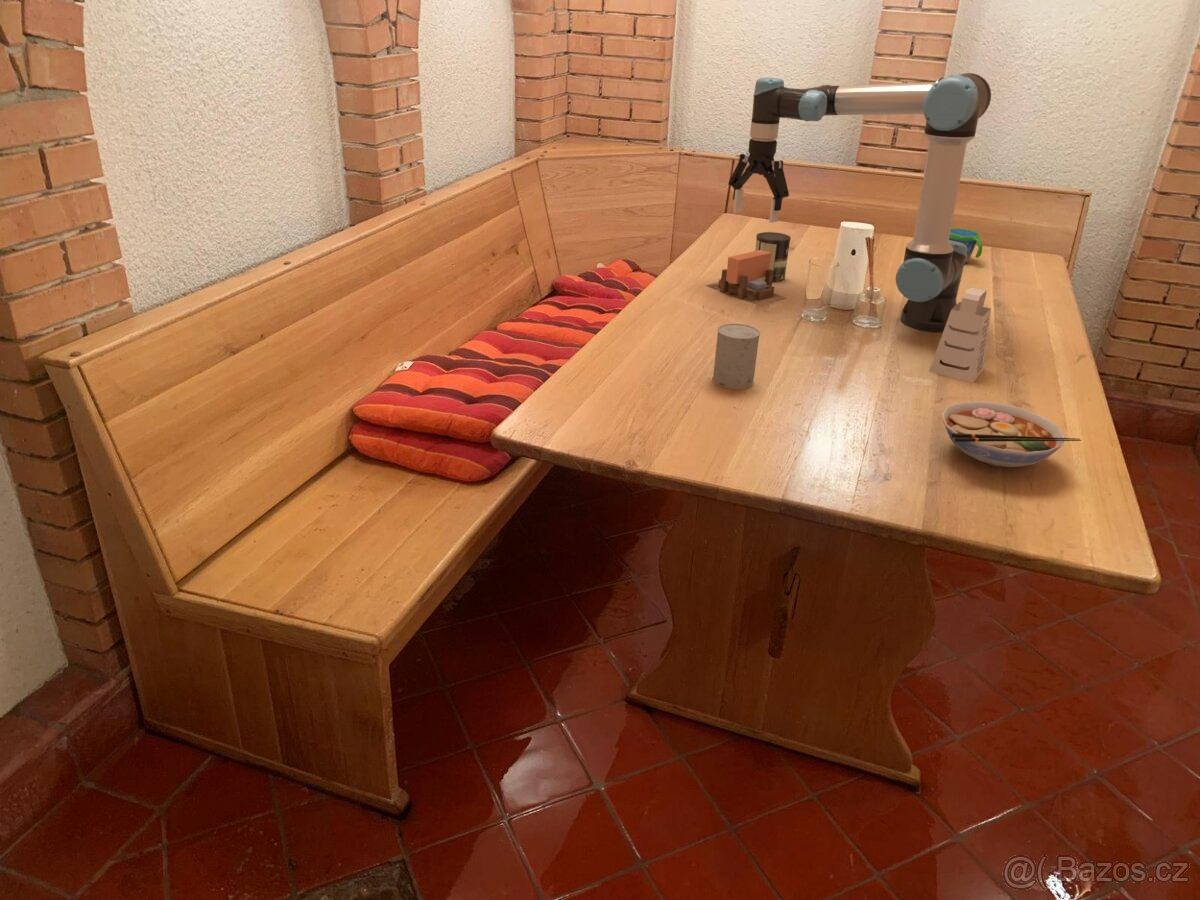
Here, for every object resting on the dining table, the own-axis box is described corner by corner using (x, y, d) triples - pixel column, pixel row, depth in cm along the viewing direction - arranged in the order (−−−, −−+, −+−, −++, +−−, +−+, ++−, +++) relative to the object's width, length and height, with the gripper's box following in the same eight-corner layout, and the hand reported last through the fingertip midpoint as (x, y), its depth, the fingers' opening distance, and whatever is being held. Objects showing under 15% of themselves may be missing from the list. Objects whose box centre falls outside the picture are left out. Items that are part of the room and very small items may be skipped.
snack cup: (985, 266, 307) (993, 236, 302) (963, 269, 302) (970, 239, 298) (950, 254, 319) (956, 225, 314) (928, 257, 314) (934, 228, 310)
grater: (983, 369, 224) (1003, 290, 215) (972, 382, 216) (993, 301, 207) (941, 358, 229) (958, 281, 220) (928, 371, 221) (946, 292, 212)
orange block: (768, 276, 269) (771, 253, 266) (736, 284, 261) (738, 260, 257) (757, 272, 271) (760, 249, 268) (725, 280, 263) (728, 256, 260)
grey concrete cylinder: (721, 390, 206) (727, 339, 200) (706, 374, 214) (711, 324, 209) (760, 387, 209) (767, 337, 203) (743, 371, 217) (749, 322, 211)
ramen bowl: (1028, 433, 193) (1038, 398, 189) (1082, 487, 172) (1095, 449, 169) (912, 431, 191) (920, 395, 188) (953, 485, 171) (963, 447, 167)
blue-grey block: (765, 295, 265) (767, 282, 263) (756, 298, 263) (757, 284, 261) (735, 285, 273) (736, 272, 271) (725, 287, 271) (727, 274, 269)
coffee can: (781, 276, 287) (787, 232, 280) (787, 286, 278) (793, 241, 271) (749, 275, 287) (754, 231, 280) (753, 285, 278) (758, 239, 271)
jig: (787, 301, 265) (791, 276, 261) (758, 309, 257) (761, 283, 254) (732, 282, 280) (735, 257, 276) (703, 289, 272) (705, 264, 269)
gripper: (808, 144, 241) (797, 224, 251) (739, 131, 258) (731, 207, 268) (790, 146, 237) (780, 227, 247) (720, 133, 254) (714, 210, 264)
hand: (754, 217), depth 258 cm, fingers open, 13 cm apart
